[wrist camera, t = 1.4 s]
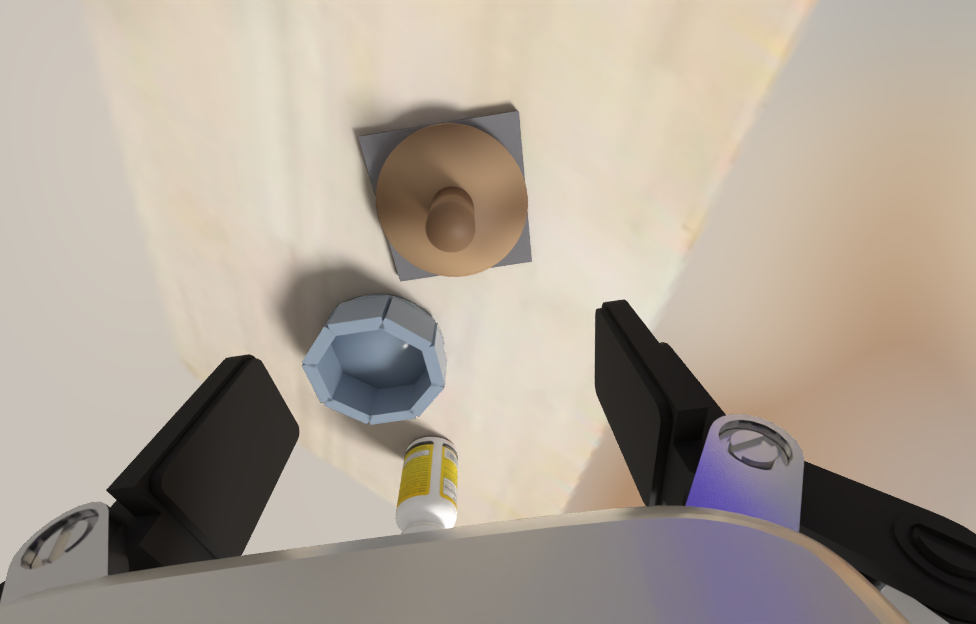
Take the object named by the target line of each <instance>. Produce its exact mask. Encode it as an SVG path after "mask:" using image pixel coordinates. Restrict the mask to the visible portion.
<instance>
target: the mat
mask: <svg viewBox="0 0 976 624" xmlns="http://www.w3.org/2000/svg"><path fill="white" fill-rule="evenodd" d="M445 123H455V124H463V125H468V126H471V127H474V128H477V129H480V130H482V131H484V132H485V133H487V134H489V135H491V136H492V137H493V138H495V139H496V140H498V141H499V142H500V143H501V144H502V145H503V146H504V147H505V148H506V149H507V150H508V152H509V153H510V154H511V155H512V157H513V158H514V160H515V161H516V163H517V165H518V166H519V168H520V170H521V173H522V175H523V178H524V181H525V177H524V166H523V154H522V143H521V131H520V120H519V111H512V112H506V113H499V114H493V115H487V116H481V117H475V118H469V119H462V120H456V121H450V122H444V123H438V124H445ZM432 125H436V124H432ZM432 125H425V126H419V127H413V128H407V129H401V130H395V131H389V132H382V133H376V134H370V135H364V136H359V137H358V138H359V142H360V145H361V149H362V152H363V156H364V159H365V162H366V166H367V169H368V173H369V176H370V180H371V183H372V186H373V190H374V193H375V197H376V188H377V182H378V178H379V175H380V172H381V169H382V167H383V165H384V163H385V161H386V159H387V158H388V156H389V155H390V153H391V152H392V151H393V150H394V149H395V147H396V146H397V145H398V144H399V143H400V142H402V141H403V140H404V139H405V138H407V137H408V136H409V135H411V134H413V133H414V132H416V131H418V130H420V129H423V128H425V127H428V126H432ZM388 241H389V240H388ZM389 245H390V248H391V252H392V255H393V259H394V262H395V265H396V269H397V272H398V276H399V279H400V281H407V280H413V279H420V278H426V277H433V276H440V275H436V274H433V273H429V272H427V271H424V270H422V269H420V268H418V267H416V266H414V265H413V264H411V263H410V262H409V261H407V260H406V259H405V258H403V257H402V256H401V255H400V254H399V253H398V252H397V251H396V250H395V248H394V247H393V246H392V245H391V243H390V242H389ZM525 262H532V258H531V246H530V235H529V223H528V212H527V217H526V221H525V225H524V228H523V231H522V233H521V236H520V237H519V239H518V241H517V243H516V244H515V246H514V247H513V248H512V250H511V251H510V252H509V253H508V254H507V255H506V256H505V257H504V258H503V259H502V260H501V261H500V262H498V263H497V264H495V265H494V266H492V267H499V266H506V265H512V264H519V263H525ZM492 267H491V268H492Z"/></svg>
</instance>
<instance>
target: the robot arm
mask: <svg viewBox="0 0 976 624" xmlns="http://www.w3.org/2000/svg"><path fill="white" fill-rule="evenodd" d="M595 389H596V394H597V397H598V399H599V401H600V404H601V406H602V408H603V410H604V413H605V415H606V417H607V420H608V422H609V424H610V427H611V429H612V431H613V433H614V436H615V438H616V440H617V443H618V445H619V447H620V450H621V452H622V454H623V456H624V459H625V461H626V463H627V466H628V468H629V470H630V473H631V475H632V477H633V479H634V482H635V484H636V486H637V489H638V491H639V493H640V496H641V498H642V500H643V502H644V504H645V505H646V506H644V507H627V508H615V509H605V510H596V511H587V512H578V513H569V514H559V515H550V516H541V517H533V518H526V519H518V520H510V521H502V522H494V523H486V524H478V525H470V526H462V527H455V528H447V529H439V530H431V531H423V532H416V533H408V534H401V535H393V536H386V537H377V538H370V539H362V540H355V541H347V542H340V543H333V544H325V545H318V546H310V547H302V548H295V549H287V550H281V551H273V552H266V553H258V554H251V555H244V556H241V555H242V553H243V551H244V549H245V547H246V545H247V543H248V541H249V539H250V537H251V535H252V533H253V531H254V529H255V527H256V525H257V523H258V520H259V518H260V516H261V514H262V512H263V510H264V508H265V506H266V504H267V502H268V500H269V498H270V496H271V494H272V491H273V490H274V488H275V485H276V483H277V481H278V479H279V477H280V475H281V473H282V471H283V469H284V467H285V465H286V463H287V461H288V459H289V457H290V454H291V452H292V450H293V448H294V446H295V444H296V442H297V440H298V437H299V426H298V424H297V422H296V420H295V419H294V417H293V415H292V413H291V412H290V410H289V408H288V406H287V405H286V403H285V401H284V399H283V398H282V396H281V394H280V392H279V391H278V389H277V387H276V385H275V384H274V382H273V380H272V378H271V377H270V375H269V373H268V371H267V370H266V368H265V366H264V364H263V363H262V361H261V360H259V359H256V358H255V357H254V356H252V355H249V354H248V355H242V356H235V357H229V358H226V359H225V360H223V362H222V363H221V364H220V365H219V366H218V367H217V368H216V369H215V370H214V371H213V373H212V374H211V375H210V376H209V377H208V378H207V379H206V380H205V381H204V383H203V384H202V385H201V386H200V387H199V388H198V389H197V390H196V391H195V392H194V394H193V395H192V396H191V397H190V398H189V399H188V400H187V401H186V402H185V404H184V405H183V406H182V407H181V408H180V409H179V410H178V411H177V412H176V413H175V415H174V416H173V417H172V418H171V419H170V420H169V421H168V422H167V423H166V425H165V426H164V427H163V428H162V429H161V430H160V431H159V432H158V433H157V434H156V436H155V437H154V438H153V439H152V440H151V441H150V442H149V443H148V444H147V446H146V447H145V448H144V449H143V450H142V451H141V452H140V453H139V454H138V455H137V457H136V458H135V459H134V460H133V461H132V462H131V463H130V464H129V465H128V467H127V468H126V469H125V470H124V471H123V472H122V473H121V474H120V476H118V478H117V479H116V480H115V481H114V482H113V483H112V484H111V485H110V486H109V488H108V489H107V492H108V493H110V494H111V495H112V496H113V497H114V498H115V499H116V502H115V503H114V504H113V505H112V506H111V507H109V506H108V505H106V504H104V503H102V502H91V503H88V504H84V505H81V506H78V507H76V508H74V509H72V510H70V511H67V512H65V513H63V514H62V515H60V516H59V517H57V518H55V519H54V520H52V521H51V522H49V523H48V524H46V525H45V526H44V527H43V528H41V529H40V530H39V531H37V532H36V533H35V534H34V535H33V536H32V537H31V538H30V539H29V540H28V541H27V542H26V543H24V544H23V546H22V547H21V548H20V549H19V551H18V552H17V553H16V555H15V556H14V557H13V559H12V562H11V564H10V566H9V569H8V573H7V577H6V581H4V582H3V583H1V584H0V624H976V534H975V533H973V532H972V531H970V530H969V529H967V528H965V527H964V526H962V525H960V524H958V523H956V522H954V521H952V520H949V519H948V518H945V517H943V516H941V515H938V514H936V513H934V512H931V511H929V510H926V509H923V508H921V507H919V506H916V505H914V504H911V503H908V502H906V501H903V500H901V499H899V498H896V497H893V496H891V495H888V494H886V493H883V492H881V491H878V490H876V489H873V488H871V487H868V486H866V485H863V484H861V483H858V482H856V481H853V480H851V479H848V478H846V477H843V476H841V475H838V474H836V473H833V472H831V471H828V470H826V469H823V468H821V467H818V466H816V465H813V464H811V463H808V462H806V461H804V457H803V452H802V449H801V448H800V446H799V445H798V443H797V441H796V440H795V439H794V438H793V437H792V436H791V435H790V434H788V433H787V432H786V431H785V430H783V429H782V428H780V427H778V426H777V425H775V424H774V423H772V422H769V421H767V420H764V419H762V418H759V417H755V416H750V415H746V414H731V415H725V413H724V412H723V411H722V410H721V408H720V407H719V406H718V405H717V403H716V402H715V401H714V400H713V399H712V397H711V396H710V395H709V393H708V392H707V391H706V390H705V389H704V387H703V386H702V385H701V384H700V382H699V381H698V380H697V379H696V377H695V376H694V375H693V374H692V373H691V371H690V370H689V369H688V368H687V367H686V365H685V364H684V363H683V361H682V360H681V359H680V358H679V356H678V355H677V354H676V353H675V352H674V350H673V349H672V348H671V347H670V346H669V345H668V344H667V343H664V342H662V343H659V342H658V341H657V339H656V338H655V337H654V336H653V334H652V333H651V332H650V330H649V329H648V328H647V327H646V325H645V324H644V323H643V321H642V320H641V319H640V317H639V316H638V315H637V314H636V312H635V311H634V310H633V308H632V307H631V306H630V305H629V303H628V302H627V301H626V300H617V301H610V302H604V303H603V304H602V308H599V309H596V313H595Z"/></svg>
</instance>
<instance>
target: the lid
mask: <svg viewBox="0 0 976 624" xmlns="http://www.w3.org/2000/svg"><path fill="white" fill-rule="evenodd" d="M376 207H377V213H378V218H379V221H380V224H381V227H382V229H383V231H384V233H385V235H386V237H387V239H388V240H389V242H390V243H391V245H392V246H393V247H394V248H395V250H396V251H397V252H398V253H399V254H400V255H401V256H402V257H403V258H405V259H406V260H407V261H409V262H410V263H411V264H413V265H414V266H416V267H418V268H420V269H422V270H424V271H427V272H429V273H433V274H436V275H441V276H448V277H460V276H468V275H473V274H476V273H479V272H482V271H484V270H486V269H488V268H491V267H492V266H494V265H495V264H497V263H498V262H500V261H501V260H502V259H503V258H504V257H505V256H506V255H507V254H508V253H509V252H510V251H511V250H512V248H513V247H514V246H515V244H516V243H517V241H518V239H519V237H520V236H521V233H522V231H523V228H524V225H525V221H526V217H527V209H528V196H527V189H526V185H525V181H524V178H523V175H522V173H521V170H520V168H519V166H518V165H517V163H516V161H515V160H514V158H513V157H512V155H511V154H510V153H509V152H508V150H507V149H506V148H505V147H504V146H503V145H502V144H501V143H500V142H499V141H498V140H496V139H495V138H493V137H492V136H491V135H489V134H487V133H485V132H484V131H482V130H480V129H477V128H474V127H471V126H468V125H463V124H455V123H445V124H436V125H432V126H428V127H425V128H423V129H420V130H418V131H416V132H414V133H413V134H411V135H409V136H408V137H407V138H405V139H404V140H403V141H402V142H400V143H399V144H398V145H397V146H396V147H395V149H394V150H393V151H392V152H391V153H390V155H389V156H388V158H387V159H386V161H385V163H384V165H383V167H382V169H381V172H380V175H379V178H378V182H377V188H376Z"/></svg>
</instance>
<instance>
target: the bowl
mask: <svg viewBox="0 0 976 624" xmlns="http://www.w3.org/2000/svg"><path fill="white" fill-rule="evenodd" d="M302 363H303V365H302V367H303V369H304V371H305V373H306V375H307V377H308V379H309V381H310V383H311V385H312V387H313V389H314V391H315V393H316V395H317V397H318V399H319V401H320V402H321V403H324V402H325V403H324V406H326V407H328V408H331V409H333V410H335V411H338V412H340V413H342V414H344V415H347V416H349V417H351V418H354V419H356V420H358V421H361V422H363V423H365V424H368V422H370V424H371V425H373V424H380V423H387V422H394V421H401V420H408V419H415V418H416V416H418V417H419V416H420V415H421V414H422V413H423V412H424V410H425V409H426V408H427V407H428V406H429V405H430V404H431V402H432V401H433V400H434V399H435V398H436V397H437V396H438V395H439V393H440V392H441V391H442V390H443V389H444V385H445V378H446V365H447V359H446V355H445V351H444V342H443V337H442V334H441V331H440V329H439V327H438V323H436V322H435V320H434V319H433V318H432V317H431V316H430V315H429V314H428V313H427V312H426V311H425V310H423V309H422V308H421V307H419V306H418V305H416V304H414V303H412V302H410V301H408V300H406V299H403V298H400V297H396V296H392V295H385V294H372V295H364V296H360V297H357V298H354V299H351V300H349V301H347V302H341V303H340V305H337V306H336V308H335V310H334V311H333V313H332V314H331V316H330V318H329V319H328V321H327V322H326V324H325V326H324V327H323V329H322V330H321V332H320V334H319V335H318V337H317V338H316V340H315V342H314V343H313V345H312V347H311V348H310V350H309V351H308V353H307V355H306V356H305V358H304V360H303V361H302Z"/></svg>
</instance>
